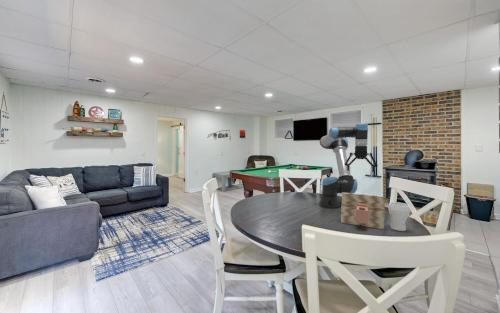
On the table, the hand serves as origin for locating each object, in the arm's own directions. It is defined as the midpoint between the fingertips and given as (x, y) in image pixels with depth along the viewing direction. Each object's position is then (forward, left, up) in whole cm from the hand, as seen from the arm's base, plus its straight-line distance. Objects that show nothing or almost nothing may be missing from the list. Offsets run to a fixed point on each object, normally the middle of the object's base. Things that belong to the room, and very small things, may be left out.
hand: (360, 176), depth 149 cm
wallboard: (+10, -12, -29) cm, 33 cm away
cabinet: (+13, -16, -24) cm, 32 cm away
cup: (+25, +1, -29) cm, 38 cm away
